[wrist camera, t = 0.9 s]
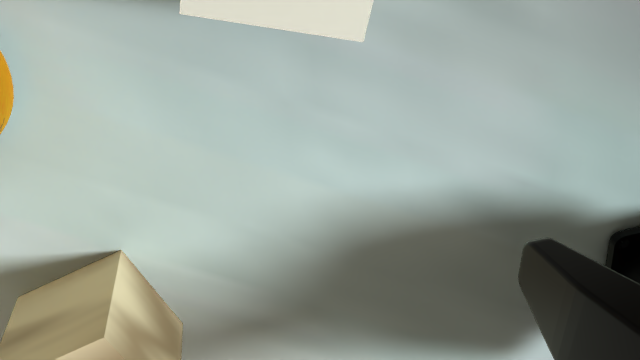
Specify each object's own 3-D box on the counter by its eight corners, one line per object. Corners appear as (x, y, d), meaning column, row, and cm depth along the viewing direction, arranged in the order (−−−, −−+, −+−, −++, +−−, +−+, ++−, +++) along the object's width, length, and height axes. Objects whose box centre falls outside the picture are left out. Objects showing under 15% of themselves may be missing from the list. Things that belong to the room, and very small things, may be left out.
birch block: (183, 322, 28) (178, 414, 23) (89, 363, 28) (67, 461, 24) (121, 248, 25) (103, 337, 21) (18, 295, 25) (-20, 391, 21)
